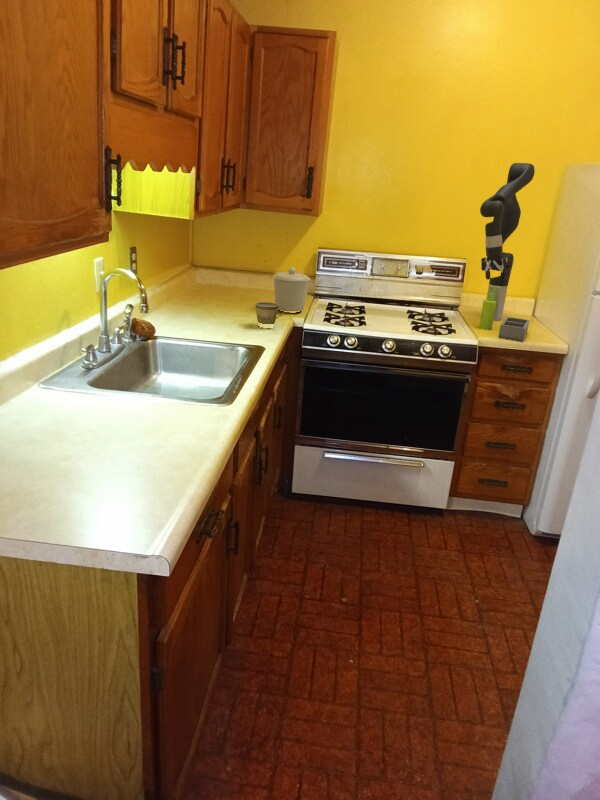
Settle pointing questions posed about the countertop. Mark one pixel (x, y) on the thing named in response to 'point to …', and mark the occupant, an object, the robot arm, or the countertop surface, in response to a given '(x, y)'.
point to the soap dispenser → (488, 310)
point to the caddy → (514, 329)
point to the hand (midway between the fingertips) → (495, 279)
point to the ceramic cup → (267, 312)
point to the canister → (291, 290)
